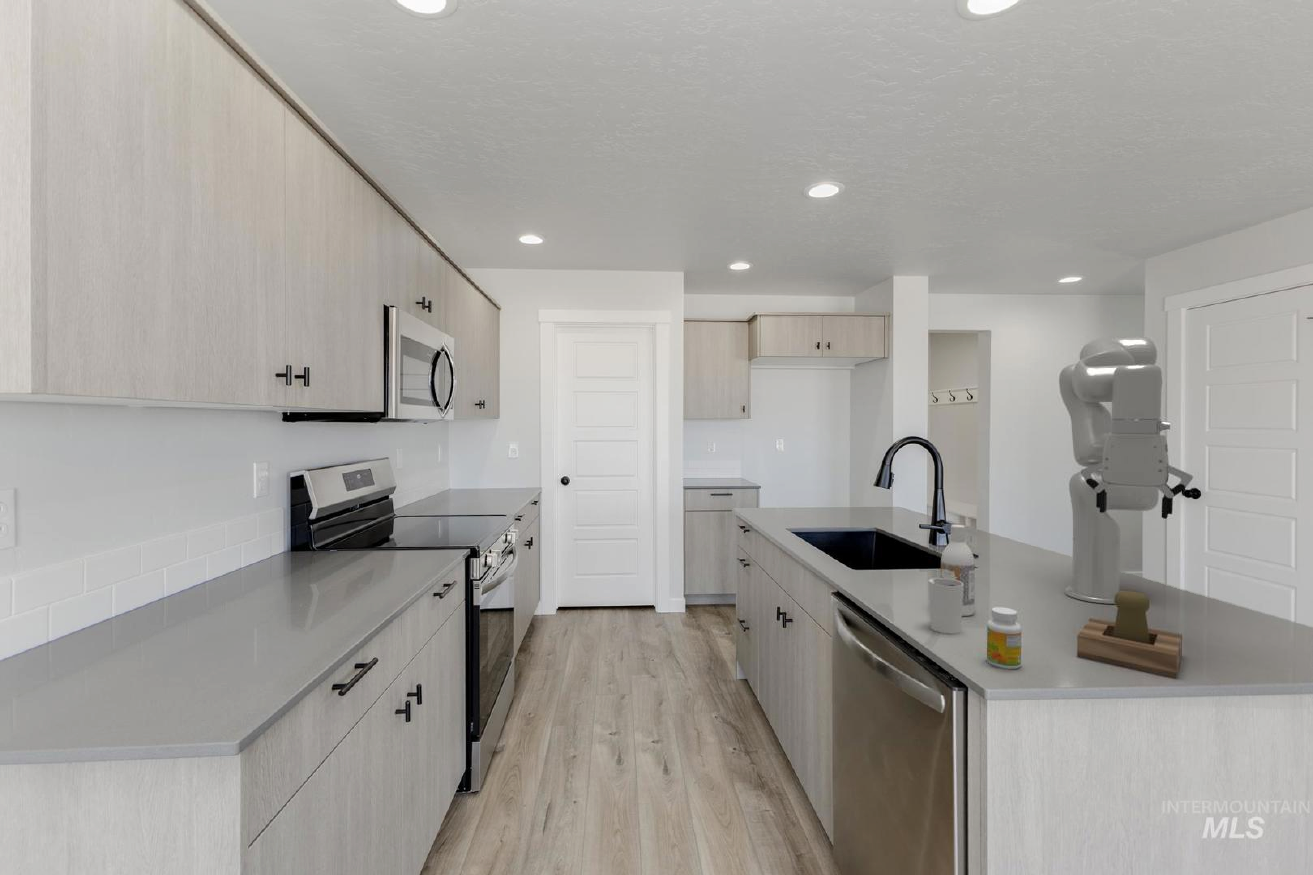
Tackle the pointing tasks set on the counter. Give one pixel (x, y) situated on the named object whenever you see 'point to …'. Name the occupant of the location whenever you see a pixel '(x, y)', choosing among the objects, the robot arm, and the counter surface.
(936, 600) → the white cylindrical cup
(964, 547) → the bath foam
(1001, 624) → the supplement bottle
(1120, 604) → the olive brown peg
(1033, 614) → the counter surface
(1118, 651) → the socket block
